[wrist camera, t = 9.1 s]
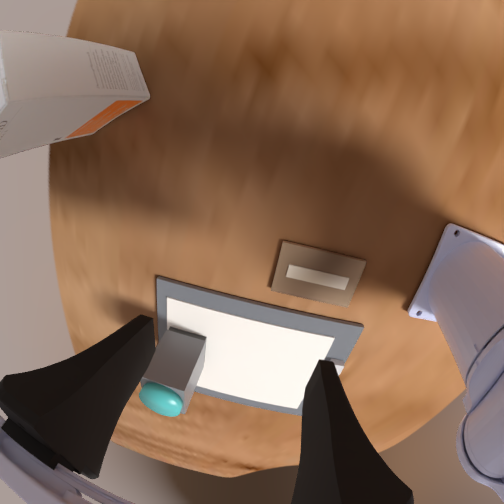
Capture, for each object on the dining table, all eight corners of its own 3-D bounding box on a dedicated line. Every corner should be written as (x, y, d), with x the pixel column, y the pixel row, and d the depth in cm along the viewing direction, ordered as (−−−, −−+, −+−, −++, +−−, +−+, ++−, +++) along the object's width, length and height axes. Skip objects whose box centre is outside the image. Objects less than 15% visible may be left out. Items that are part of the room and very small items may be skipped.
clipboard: (363, 324, 22) (365, 333, 21) (310, 414, 28) (310, 422, 27) (158, 275, 23) (152, 283, 22) (163, 378, 29) (159, 385, 28)
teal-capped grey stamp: (207, 336, 24) (180, 399, 18) (205, 362, 26) (181, 421, 19) (169, 325, 24) (134, 383, 18) (170, 351, 26) (140, 407, 20)
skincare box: (93, 136, 18) (-40, 176, 8) (78, 91, 17) (-52, 108, 6) (155, 98, 17) (5, 104, 6) (137, 50, 15) (-4, 25, 4)
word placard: (365, 260, 19) (366, 262, 19) (347, 305, 21) (347, 308, 21) (283, 240, 20) (282, 242, 19) (271, 288, 21) (270, 291, 21)
